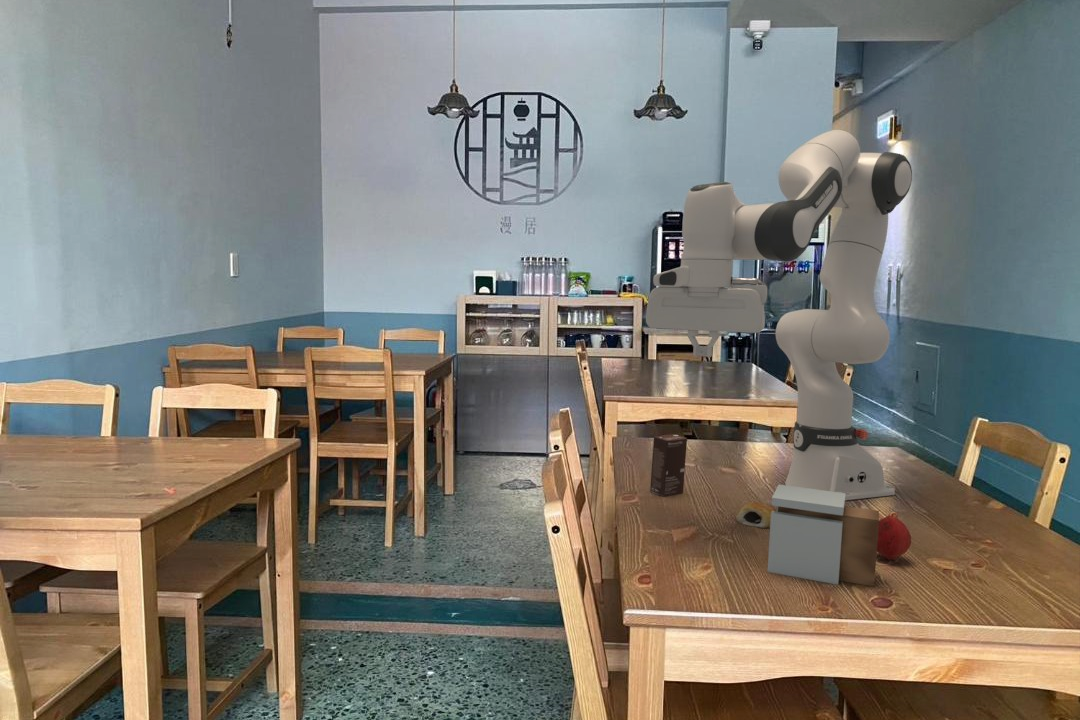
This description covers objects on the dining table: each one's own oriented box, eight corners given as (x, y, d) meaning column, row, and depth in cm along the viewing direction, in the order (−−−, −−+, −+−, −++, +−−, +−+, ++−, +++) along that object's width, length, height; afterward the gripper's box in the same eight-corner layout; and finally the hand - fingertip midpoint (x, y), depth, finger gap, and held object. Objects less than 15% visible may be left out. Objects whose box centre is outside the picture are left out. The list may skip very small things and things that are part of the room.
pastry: (750, 512, 140) (751, 493, 140) (785, 519, 136) (787, 500, 136) (733, 524, 133) (735, 504, 132) (770, 533, 129) (771, 512, 128)
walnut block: (774, 568, 111) (778, 505, 110) (778, 557, 115) (782, 497, 114) (874, 586, 105) (879, 520, 104) (874, 574, 110) (878, 510, 109)
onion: (890, 569, 112) (894, 519, 112) (861, 556, 118) (864, 508, 117) (917, 564, 115) (921, 515, 114) (886, 551, 120) (890, 505, 119)
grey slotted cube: (767, 572, 110) (771, 497, 109) (774, 555, 117) (778, 484, 116) (838, 585, 106) (843, 507, 104) (840, 566, 113) (845, 493, 112)
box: (664, 497, 148) (666, 440, 147) (649, 492, 152) (651, 435, 150) (685, 493, 151) (688, 437, 150) (670, 488, 155) (672, 433, 154)
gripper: (770, 278, 123) (766, 358, 124) (654, 276, 132) (651, 351, 133) (765, 277, 117) (761, 362, 119) (644, 275, 126) (641, 354, 127)
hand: (702, 356), depth 126 cm, fingers closed
